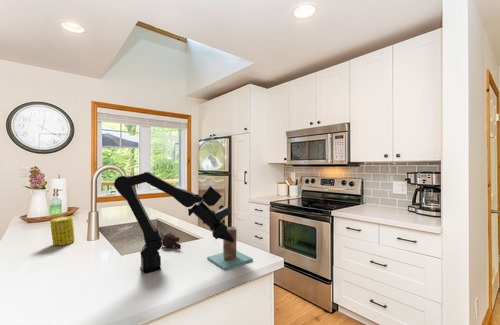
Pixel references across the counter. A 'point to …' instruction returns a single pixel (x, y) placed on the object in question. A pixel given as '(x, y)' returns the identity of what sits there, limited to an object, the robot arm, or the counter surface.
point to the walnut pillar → (230, 245)
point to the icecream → (171, 240)
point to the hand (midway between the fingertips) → (232, 238)
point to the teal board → (227, 264)
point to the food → (62, 230)
